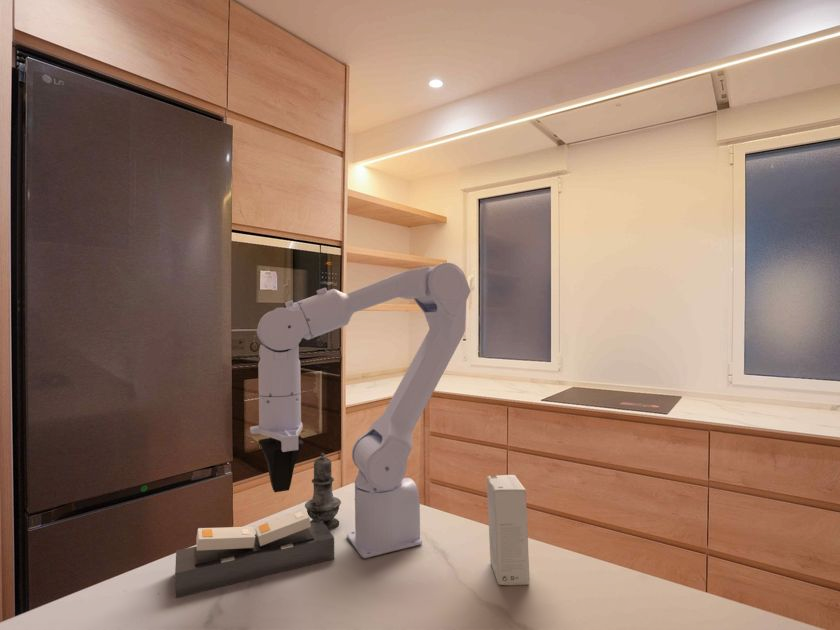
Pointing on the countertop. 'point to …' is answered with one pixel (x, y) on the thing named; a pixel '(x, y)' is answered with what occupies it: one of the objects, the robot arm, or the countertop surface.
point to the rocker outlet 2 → (282, 526)
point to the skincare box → (508, 529)
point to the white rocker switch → (225, 538)
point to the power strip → (251, 560)
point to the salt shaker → (323, 495)
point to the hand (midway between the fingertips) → (281, 489)
